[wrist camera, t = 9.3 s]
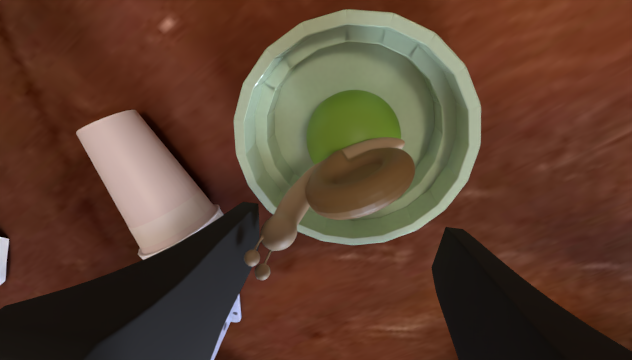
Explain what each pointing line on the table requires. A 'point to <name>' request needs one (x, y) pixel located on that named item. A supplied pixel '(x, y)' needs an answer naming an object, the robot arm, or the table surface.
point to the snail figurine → (342, 169)
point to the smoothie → (146, 182)
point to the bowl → (372, 76)
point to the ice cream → (3, 258)
